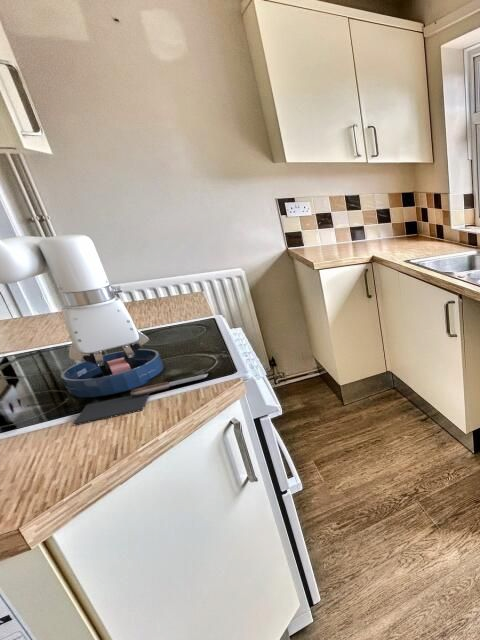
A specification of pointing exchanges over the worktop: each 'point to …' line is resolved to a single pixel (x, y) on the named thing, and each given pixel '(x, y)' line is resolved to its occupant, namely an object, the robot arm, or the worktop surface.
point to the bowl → (112, 384)
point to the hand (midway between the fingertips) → (122, 375)
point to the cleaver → (163, 385)
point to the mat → (111, 408)
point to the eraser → (118, 366)
